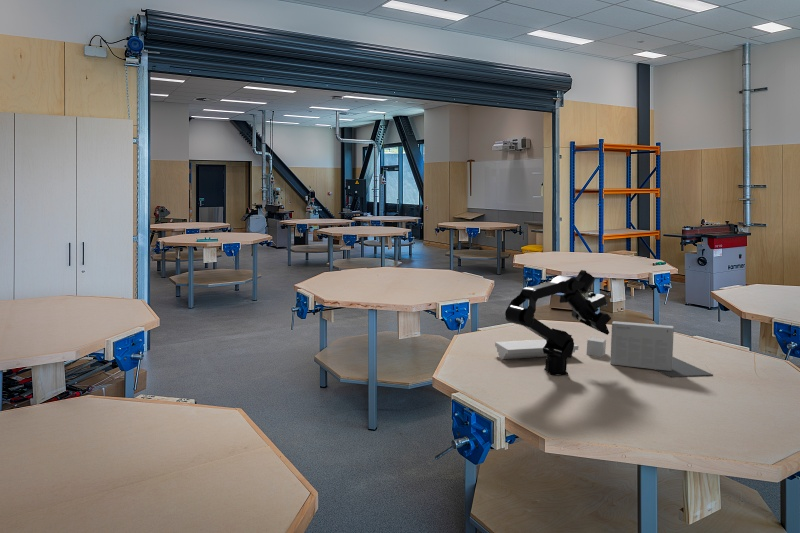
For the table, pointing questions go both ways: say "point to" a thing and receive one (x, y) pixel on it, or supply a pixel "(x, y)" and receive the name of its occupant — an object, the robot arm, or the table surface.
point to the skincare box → (642, 345)
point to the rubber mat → (684, 370)
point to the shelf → (523, 349)
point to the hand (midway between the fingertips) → (604, 332)
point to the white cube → (596, 346)
